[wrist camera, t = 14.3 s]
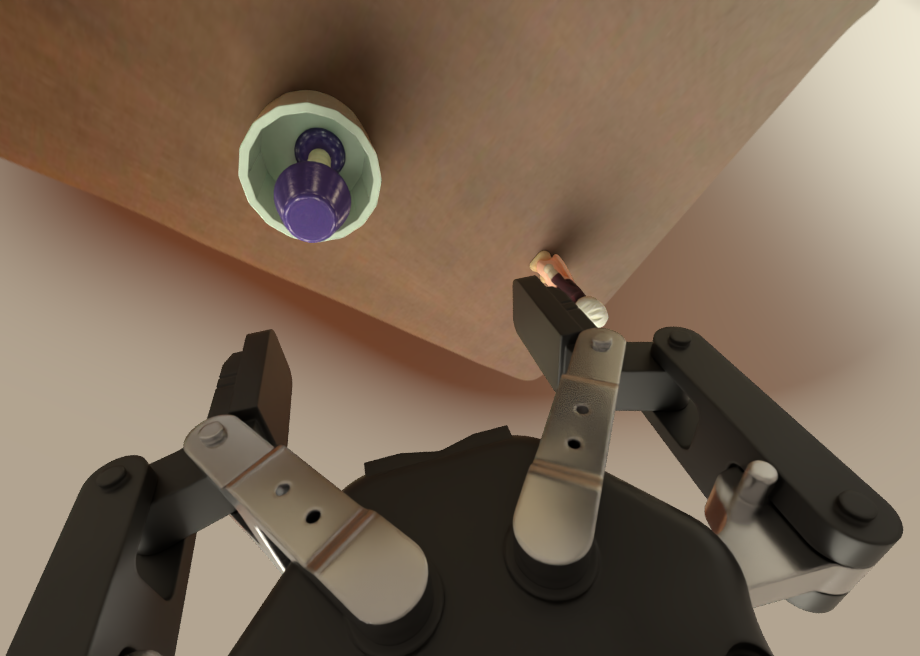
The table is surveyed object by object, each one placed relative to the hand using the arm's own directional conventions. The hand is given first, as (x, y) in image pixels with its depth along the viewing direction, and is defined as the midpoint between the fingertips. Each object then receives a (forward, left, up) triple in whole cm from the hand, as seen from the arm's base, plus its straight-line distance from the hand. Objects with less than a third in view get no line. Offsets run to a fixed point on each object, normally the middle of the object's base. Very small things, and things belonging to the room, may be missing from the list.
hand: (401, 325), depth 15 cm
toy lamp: (0, -3, -30) cm, 30 cm away
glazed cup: (0, -3, -30) cm, 30 cm away
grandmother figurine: (+16, +19, -31) cm, 39 cm away
